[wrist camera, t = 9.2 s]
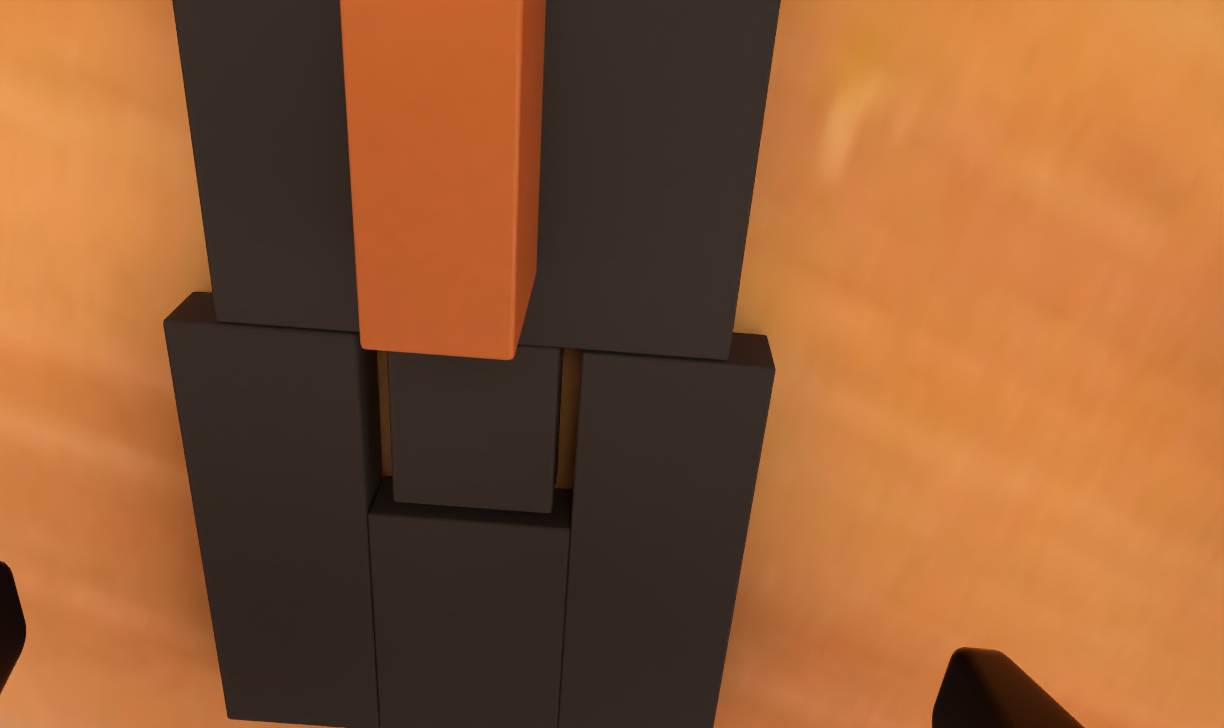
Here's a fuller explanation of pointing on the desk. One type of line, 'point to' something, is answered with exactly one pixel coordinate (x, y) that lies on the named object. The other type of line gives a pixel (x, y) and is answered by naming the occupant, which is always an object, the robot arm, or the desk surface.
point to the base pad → (464, 542)
